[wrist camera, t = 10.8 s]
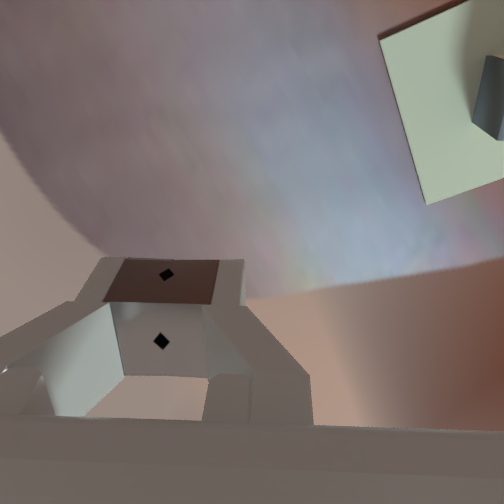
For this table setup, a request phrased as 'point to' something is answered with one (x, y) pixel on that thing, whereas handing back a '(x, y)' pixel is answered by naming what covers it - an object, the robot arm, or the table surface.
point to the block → (491, 98)
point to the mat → (447, 95)
